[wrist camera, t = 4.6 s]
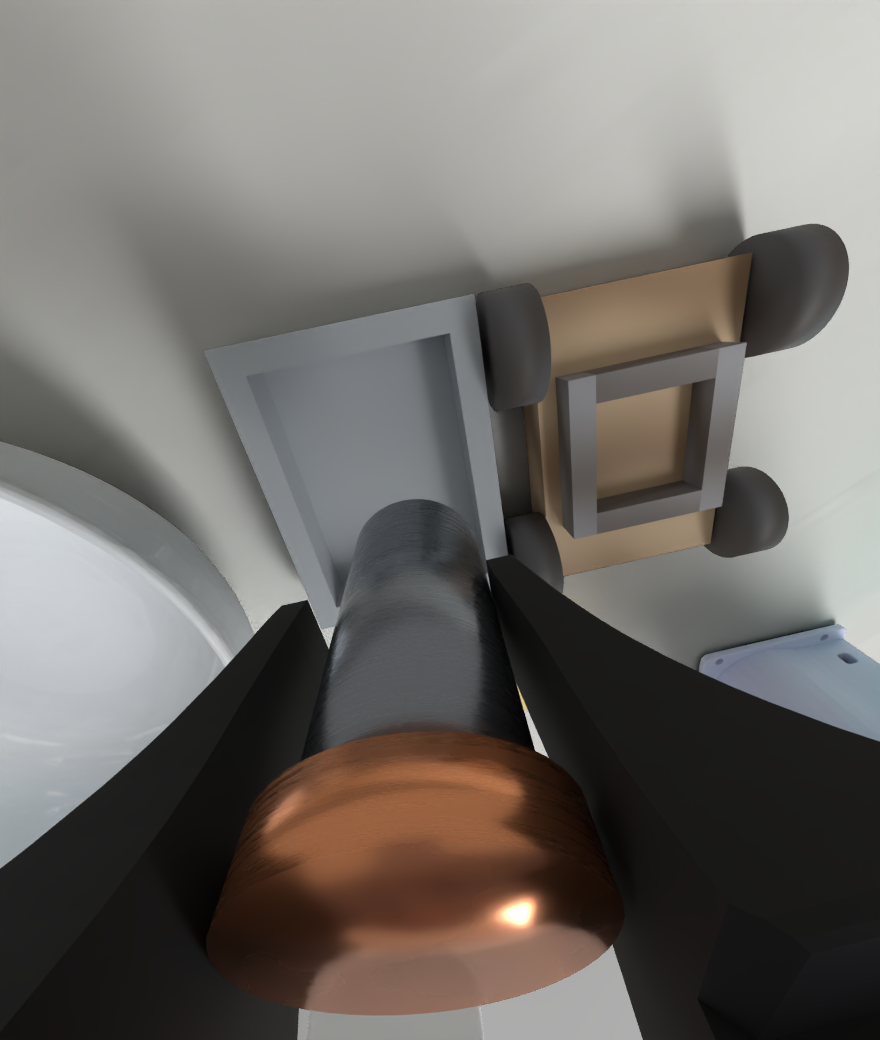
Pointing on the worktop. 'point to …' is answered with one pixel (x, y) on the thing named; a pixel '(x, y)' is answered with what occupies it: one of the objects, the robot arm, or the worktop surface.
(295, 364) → the tray
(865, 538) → the worktop surface
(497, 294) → the trolley
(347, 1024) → the tall white carton
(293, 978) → the pin
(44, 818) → the serving bowl
